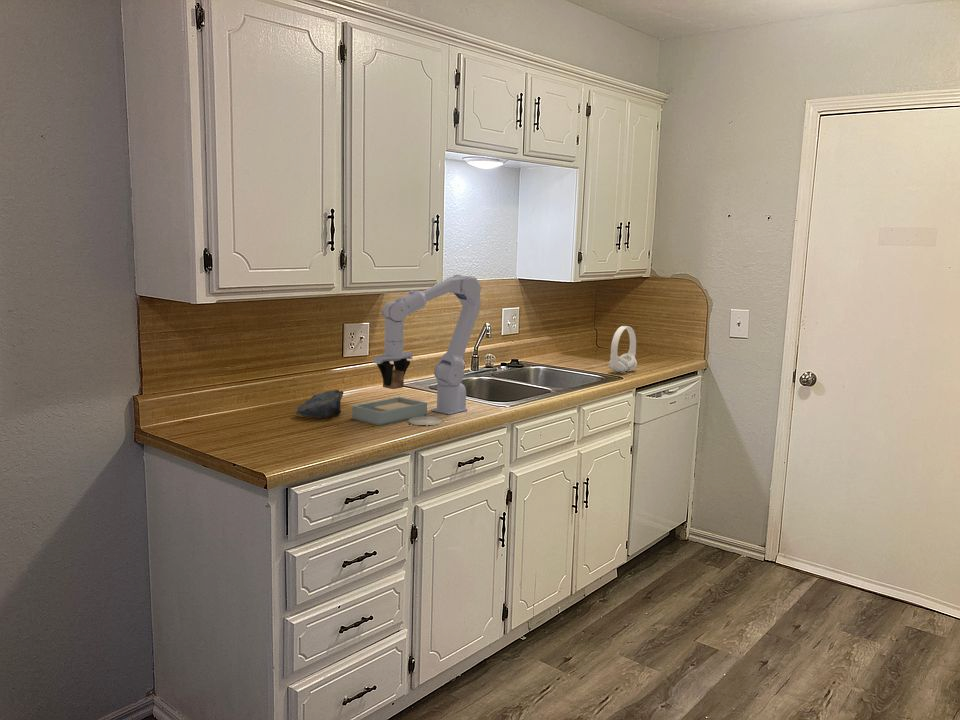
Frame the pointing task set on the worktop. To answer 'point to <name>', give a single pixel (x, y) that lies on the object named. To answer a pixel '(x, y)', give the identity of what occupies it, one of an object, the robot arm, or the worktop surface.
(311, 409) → the rock
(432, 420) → the coaster
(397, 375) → the block
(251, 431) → the worktop surface
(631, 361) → the headphones
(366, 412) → the caddy
